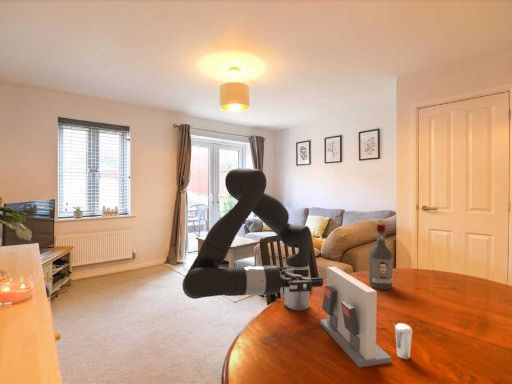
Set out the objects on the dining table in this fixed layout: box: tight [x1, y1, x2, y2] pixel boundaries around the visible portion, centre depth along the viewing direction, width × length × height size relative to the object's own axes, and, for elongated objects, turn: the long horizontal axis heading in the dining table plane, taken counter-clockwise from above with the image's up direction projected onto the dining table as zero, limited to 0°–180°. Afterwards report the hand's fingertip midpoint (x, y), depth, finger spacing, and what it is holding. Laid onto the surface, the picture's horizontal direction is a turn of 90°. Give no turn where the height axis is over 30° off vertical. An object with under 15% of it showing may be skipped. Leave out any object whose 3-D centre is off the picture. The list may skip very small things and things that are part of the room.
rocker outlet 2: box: [341, 301, 359, 336], centre depth 85 cm, size 2×5×8 cm, turn 12°
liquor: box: [368, 223, 393, 290], centre depth 140 cm, size 9×9×30 cm
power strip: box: [319, 266, 392, 368], centre depth 92 cm, size 10×25×20 cm, turn 12°
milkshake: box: [393, 322, 413, 360], centre depth 84 cm, size 4×5×10 cm
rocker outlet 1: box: [321, 285, 337, 315], centre depth 97 cm, size 2×5×8 cm, turn 13°
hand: (314, 277), depth 81 cm, fingers open, 8 cm apart
